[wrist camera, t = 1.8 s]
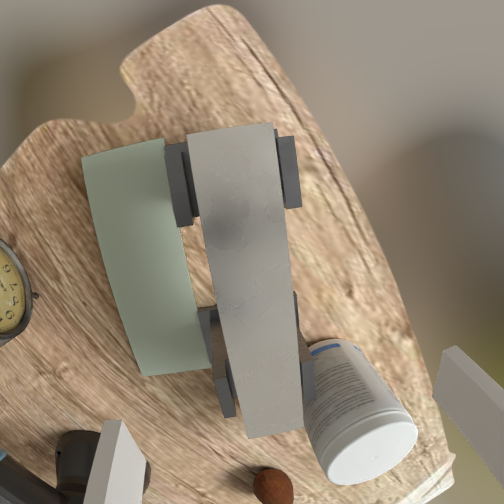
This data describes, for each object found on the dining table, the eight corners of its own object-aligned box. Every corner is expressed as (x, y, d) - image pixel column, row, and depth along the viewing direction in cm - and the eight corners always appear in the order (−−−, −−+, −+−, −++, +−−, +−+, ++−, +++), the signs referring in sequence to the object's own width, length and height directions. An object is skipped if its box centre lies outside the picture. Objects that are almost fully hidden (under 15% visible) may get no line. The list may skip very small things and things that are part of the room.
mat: (143, 373, 34) (142, 376, 33) (83, 157, 26) (80, 157, 26) (211, 364, 34) (211, 367, 34) (163, 138, 27) (162, 137, 26)
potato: (267, 494, 45) (273, 522, 39) (238, 467, 41) (242, 500, 35) (299, 483, 45) (308, 511, 39) (274, 455, 41) (282, 488, 35)
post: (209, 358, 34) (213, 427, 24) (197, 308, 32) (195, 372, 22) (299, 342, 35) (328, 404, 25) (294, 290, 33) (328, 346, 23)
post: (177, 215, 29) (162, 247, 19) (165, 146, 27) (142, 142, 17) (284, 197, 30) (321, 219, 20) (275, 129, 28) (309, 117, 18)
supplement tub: (277, 395, 37) (307, 492, 23) (298, 331, 35) (347, 428, 21) (346, 396, 39) (391, 478, 25) (372, 337, 36) (437, 416, 22)
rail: (242, 402, 27) (248, 439, 22) (190, 138, 20) (186, 134, 16) (291, 392, 27) (303, 427, 23) (259, 128, 20) (272, 122, 16)
